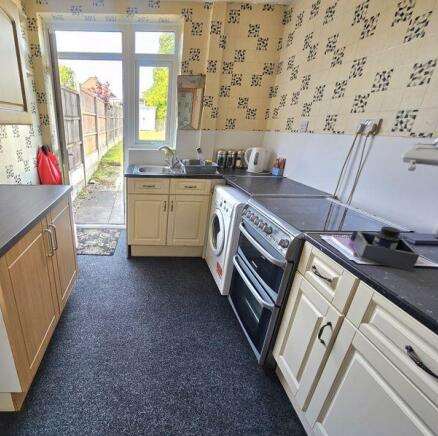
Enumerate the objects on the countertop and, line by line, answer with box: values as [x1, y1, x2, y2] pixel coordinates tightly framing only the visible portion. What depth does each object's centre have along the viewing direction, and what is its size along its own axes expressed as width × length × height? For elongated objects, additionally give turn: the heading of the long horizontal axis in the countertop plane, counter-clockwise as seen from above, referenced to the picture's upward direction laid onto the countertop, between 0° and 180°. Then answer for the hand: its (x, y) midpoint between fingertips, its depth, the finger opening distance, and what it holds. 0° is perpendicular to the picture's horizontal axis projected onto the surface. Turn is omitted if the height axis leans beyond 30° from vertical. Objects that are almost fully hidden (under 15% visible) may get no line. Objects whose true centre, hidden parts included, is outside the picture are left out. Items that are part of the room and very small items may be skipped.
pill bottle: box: [372, 226, 401, 249], centre depth 88 cm, size 6×6×11 cm
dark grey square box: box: [352, 230, 420, 272], centre depth 89 cm, size 14×14×7 cm
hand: (426, 172), depth 95 cm, fingers open, 8 cm apart
